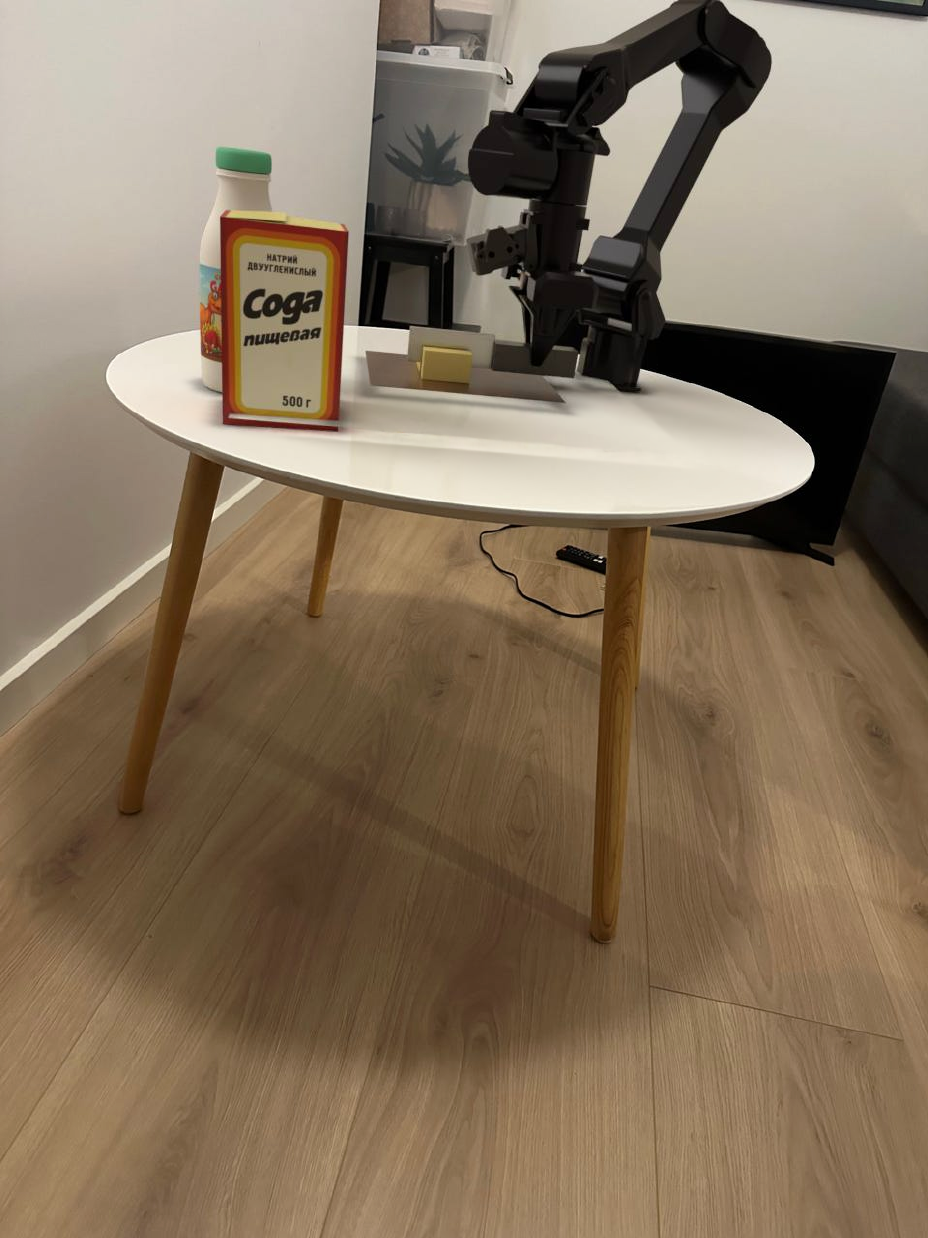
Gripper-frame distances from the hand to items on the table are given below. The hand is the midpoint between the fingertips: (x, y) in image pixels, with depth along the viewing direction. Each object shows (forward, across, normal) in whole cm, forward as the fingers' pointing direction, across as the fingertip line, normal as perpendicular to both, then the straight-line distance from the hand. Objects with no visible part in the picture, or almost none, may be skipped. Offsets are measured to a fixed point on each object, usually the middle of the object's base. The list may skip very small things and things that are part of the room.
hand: (533, 362), depth 92 cm
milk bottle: (+3, +8, -30) cm, 31 cm away
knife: (+1, 0, -5) cm, 5 cm away
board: (+3, -1, -8) cm, 8 cm away
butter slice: (+2, +2, -10) cm, 10 cm away
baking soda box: (+3, +17, -26) cm, 31 cm away
